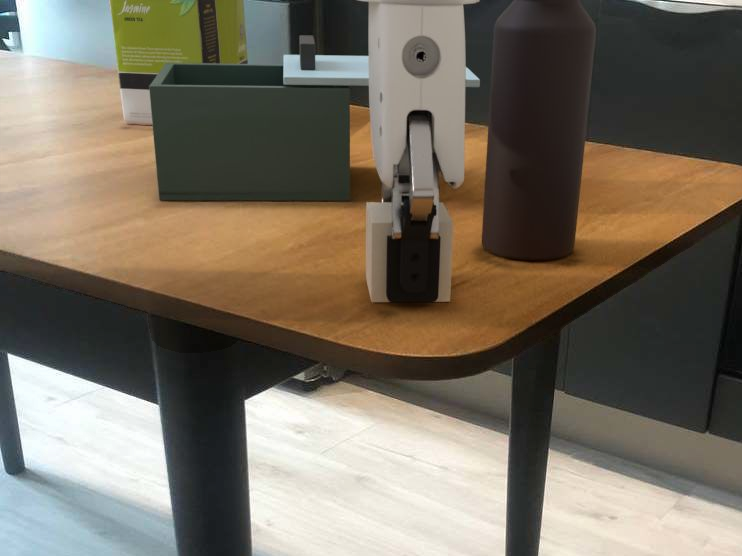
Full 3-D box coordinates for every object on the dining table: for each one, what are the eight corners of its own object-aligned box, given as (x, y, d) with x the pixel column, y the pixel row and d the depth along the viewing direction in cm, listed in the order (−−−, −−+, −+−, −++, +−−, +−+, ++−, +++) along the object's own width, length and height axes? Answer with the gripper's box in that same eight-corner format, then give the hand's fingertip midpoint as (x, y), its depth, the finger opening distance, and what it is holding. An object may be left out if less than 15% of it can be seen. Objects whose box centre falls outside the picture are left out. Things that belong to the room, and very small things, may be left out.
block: (371, 302, 68) (371, 222, 65) (365, 278, 72) (366, 202, 70) (450, 302, 68) (453, 222, 66) (440, 277, 73) (443, 202, 70)
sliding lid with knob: (283, 84, 85) (282, 49, 84) (283, 61, 97) (282, 30, 96) (479, 87, 87) (481, 52, 85) (456, 64, 98) (457, 33, 97)
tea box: (171, 102, 130) (160, -37, 122) (252, 107, 128) (246, -33, 121) (120, 124, 117) (104, -30, 109) (209, 129, 115) (199, -26, 108)
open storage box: (159, 200, 89) (148, 85, 84) (173, 164, 100) (165, 62, 96) (350, 201, 90) (349, 88, 86) (342, 165, 102) (341, 65, 97)
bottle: (582, 263, 76) (616, -59, 66) (486, 262, 76) (506, -62, 66) (565, 237, 82) (594, -62, 72) (476, 235, 82) (493, -65, 72)
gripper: (507, -17, 54) (485, 330, 63) (459, -36, 69) (447, 247, 78) (356, -20, 53) (356, 331, 62) (340, -39, 68) (342, 247, 77)
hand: (407, 281), depth 70 cm, fingers open, 5 cm apart
